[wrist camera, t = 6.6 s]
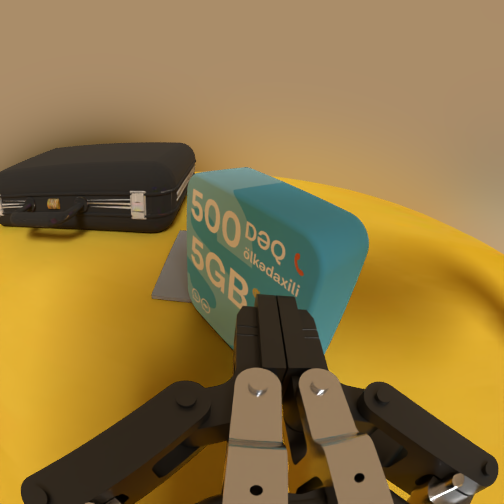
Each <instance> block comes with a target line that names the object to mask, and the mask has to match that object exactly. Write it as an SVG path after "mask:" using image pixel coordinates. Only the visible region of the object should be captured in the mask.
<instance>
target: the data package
mask: <svg viewBox="0 0 504 504" xmlns="http://www.w3.org/2000/svg"><path fill="white" fill-rule="evenodd" d="M368 248H369V238H368V234H367V231H366V229H365V226H364V225H363V223H362V222H361V221H360V220H359V219H358V218H357V217H356V216H355V215H353V214H352V213H350V212H348V211H346V210H344V209H342V208H340V207H337V206H335V205H333V204H331V203H329V202H327V201H325V200H323V199H321V198H318V197H316V196H314V195H312V194H310V193H307V192H305V191H303V190H301V189H299V188H296V187H294V186H292V185H289V184H287V183H285V182H283V181H280V180H278V179H275V178H273V177H271V176H268V175H266V174H263V173H261V172H258V171H256V170H254V169H251V168H248V167H244V168H234V169H225V170H217V171H209V172H201V173H196V174H194V175H193V176H192V177H191V179H190V180H189V183H188V188H187V276H188V292H189V296H190V299H191V301H192V303H193V305H194V307H195V308H196V309H197V311H198V312H199V313H200V314H201V315H202V316H203V317H204V319H205V320H206V321H207V322H208V323H209V324H210V325H211V326H212V327H213V329H214V330H215V331H216V332H217V333H218V334H219V335H220V336H221V337H222V338H223V339H224V341H225V342H226V343H227V344H228V345H229V346H230V347H231V348H232V349H233V350H234V335H235V327H236V318H237V314H238V312H239V311H240V309H241V308H242V306H252V307H254V303H255V297H256V294H266V295H275V296H276V295H281V296H294V297H295V299H296V303H297V307H298V309H302V310H307V311H308V312H309V313H310V315H311V316H312V317H313V318H314V321H315V324H316V328H317V331H318V335H319V339H320V342H321V345H322V349H323V353H324V354H325V352H326V350H327V348H328V346H329V344H330V342H331V340H332V337H333V335H334V333H335V331H336V329H337V327H338V324H339V322H340V320H341V318H342V315H343V313H344V311H345V309H346V306H347V304H348V302H349V299H350V297H351V294H352V292H353V289H354V287H355V284H356V282H357V279H358V277H359V274H360V272H361V269H362V266H363V264H364V261H365V258H366V256H367V253H368Z"/></svg>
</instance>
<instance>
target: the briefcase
mask: <svg viewBox="0 0 504 504" xmlns="http://www.w3.org/2000/svg"><path fill="white" fill-rule="evenodd" d="M195 162H196V160H195V154H194V152H193V150H192V149H191V148H190V147H189V146H188V145H186V144H183V143H116V144H115V143H114V144H97V145H84V146H73V147H64V148H55V149H53V150H50V151H47V152H45V153H42V154H40V155H37V156H35V157H32V158H30V159H27V160H25V161H23V162H20V163H18V164H16V165H14V166H11V167H9V168H7V169H5V170H3V171H1V172H0V224H2V225H4V226H21V227H43V228H71V229H92V230H112V231H131V232H149V233H155V232H160V231H162V230H164V229H166V228H167V227H169V225H170V224H171V223H172V222H173V220H174V218H175V216H176V214H177V212H178V210H179V208H180V206H181V204H182V202H183V200H184V198H185V196H186V194H187V188H188V183H189V180H190V179H191V177H192V176H193V175H194V174H195V173H194V170H195Z"/></svg>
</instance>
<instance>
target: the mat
mask: <svg viewBox="0 0 504 504" xmlns="http://www.w3.org/2000/svg"><path fill="white" fill-rule="evenodd" d="M152 298H154V299H163V300H172V301H181V302H191V303H192V301H191V299H190V296H189V292H188V276H187V231H180V232H179V234H178V236H177V238H176V240H175V242H174V244H173V247H172V249H171V251H170V253H169V255H168V258H167V260H166V262H165V264H164V267H163V269H162V271H161V274H160V276H159V278H158V281H157V283H156V285H155V288H154V290H153V292H152Z"/></svg>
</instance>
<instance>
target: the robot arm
mask: <svg viewBox="0 0 504 504" xmlns="http://www.w3.org/2000/svg"><path fill="white" fill-rule="evenodd" d="M282 404H283V412H284V413H283V415H282ZM282 432H283V437H284V443H285V445H284V444H283V441H282ZM223 441H227V446H226V455H225V464H224V472H223V480H222V489H221V494H220V495H216V496H212V497H209V498H207V499H204V500H202V501H200V502H198V503H196V504H470V502H471V500H472V498H473V496H474V494H475V493H477V492H479V491H481V490H483V489H485V488H487V487H488V486H490V485H492V484H493V483H494V482H495V480H496V478H497V475H498V464H497V461H496V459H495V458H494V457H493V456H492V455H490V454H489V453H487V452H486V451H484V450H483V449H481V448H480V447H478V446H477V445H475V444H474V443H472V442H471V441H469V440H468V439H466V438H465V437H463V436H462V435H460V434H459V433H457V432H456V431H454V430H453V429H452V428H450V427H449V426H447V425H446V424H444V423H443V422H441V421H440V420H439V419H437V418H436V417H434V416H433V415H431V414H430V413H429V412H427V411H426V410H424V409H423V408H422V407H420V406H419V405H417V404H416V403H414V402H413V401H412V400H410V399H409V398H407V397H406V396H405V395H403V394H402V393H401V392H399V391H398V390H396V389H395V388H394V387H392V386H391V385H389V384H387V383H384V382H374V383H371V384H369V385H368V386H367V387H366V389H361V388H356V387H351V386H347V385H344V384H342V383H340V382H339V380H338V378H337V377H336V376H335V375H334V374H333V373H331V372H329V370H328V367H327V364H326V360H325V356H324V353H323V349H322V345H321V342H320V339H319V335H318V331H317V328H316V324H315V321H314V318H313V317H312V316H311V315H310V313H309V312H308V311H307V310H302V309H298V307H297V303H296V299H295V297H294V296H281V295H276V296H275V295H266V294H256V297H255V303H254V307H252V306H242V308H241V309H240V311H239V312H238V314H237V318H236V327H235V335H234V353H233V376H232V378H231V379H230V380H229V381H227V382H226V383H224V384H221V385H218V386H214V387H209V388H204V387H203V386H201V385H200V384H198V383H196V382H192V381H179V382H175V383H173V384H171V385H170V386H168V387H167V388H166V389H164V390H163V391H161V392H160V393H159V394H157V395H156V396H155V397H153V398H152V399H150V400H149V401H148V402H146V403H145V404H143V405H142V406H141V407H139V408H138V409H136V410H135V411H133V412H132V413H130V414H129V415H128V416H126V417H125V418H123V419H122V420H120V421H119V422H117V423H116V424H114V425H113V426H111V427H110V428H108V429H107V430H105V431H104V432H102V433H101V434H99V435H98V436H96V437H95V438H93V439H91V440H90V441H88V442H87V443H85V444H84V445H82V446H80V447H79V448H77V449H75V450H74V451H72V452H71V453H69V454H67V455H66V456H64V457H62V458H61V459H59V460H57V461H56V462H54V463H52V464H50V465H49V466H47V467H45V468H43V469H42V470H40V471H38V472H36V473H34V474H32V475H31V476H29V477H27V478H26V479H25V480H24V481H23V483H22V486H21V496H22V500H23V502H24V504H134V503H136V502H137V501H139V500H140V499H142V498H143V497H144V496H146V495H147V494H148V493H150V492H151V491H152V490H154V489H155V488H156V487H158V486H159V485H160V484H162V483H163V482H164V481H165V480H167V479H168V478H169V477H170V476H172V475H173V474H174V473H175V472H177V471H178V470H179V469H180V468H181V467H183V466H184V465H185V464H186V463H187V462H189V461H190V460H191V459H192V458H193V457H194V456H196V455H197V454H198V453H199V452H200V451H201V450H202V449H203V448H205V447H206V446H207V445H209V444H214V443H218V442H223ZM288 464H289V471H288ZM386 479H387V480H389V481H390V482H392V483H393V484H394V485H396V486H397V487H399V488H400V489H402V490H403V491H405V492H406V493H408V494H409V495H411V496H410V497H409V498H408V499H407V501H405V500H404V499H403V498H401V497H400V496H398V495H397V494H396V493H394V492H393V491H391V490H390V489H389V487H388V484H387V481H386ZM288 487H289V492H290V493H288Z"/></svg>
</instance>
